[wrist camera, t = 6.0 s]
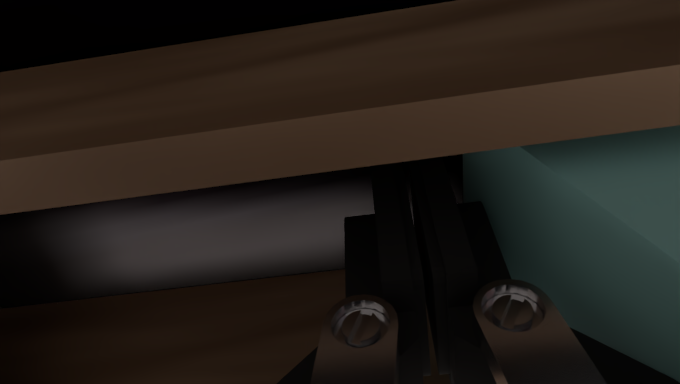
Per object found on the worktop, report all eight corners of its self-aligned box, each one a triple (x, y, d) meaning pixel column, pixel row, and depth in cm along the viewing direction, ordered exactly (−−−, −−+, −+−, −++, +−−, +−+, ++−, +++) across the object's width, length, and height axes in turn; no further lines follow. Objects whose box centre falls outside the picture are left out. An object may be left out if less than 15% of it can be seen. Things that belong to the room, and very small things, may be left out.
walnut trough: (-195, 103, 12) (-481, 251, 8) (661, -32, 11) (881, 65, 6) (-5, 331, 17) (-118, 499, 13) (603, 263, 16) (705, 432, 11)
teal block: (461, 104, 11) (825, 370, 5) (658, 43, 12) (1148, 211, 6) (463, 275, 14) (697, 563, 8) (621, 215, 14) (929, 436, 9)
